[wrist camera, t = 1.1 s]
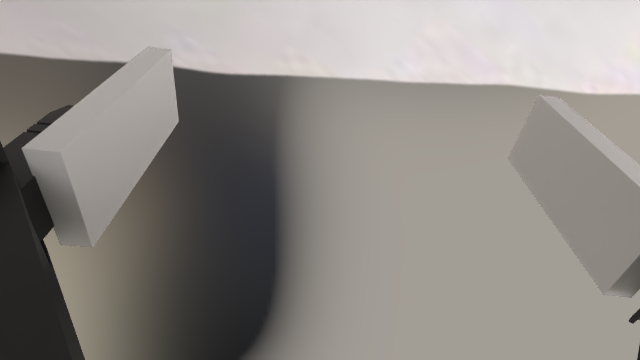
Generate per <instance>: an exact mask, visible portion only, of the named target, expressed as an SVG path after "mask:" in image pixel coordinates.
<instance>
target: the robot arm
mask: <svg viewBox="0 0 640 360" xmlns="http://www.w3.org/2000/svg"><path fill="white" fill-rule="evenodd" d="M178 122H179V119H178V110H177V101H176V92H175V84H174V74H173V65H172V56H171V49H163V48H154V47H147V48H146V49H144V50H143V51H142V52H141V53H140V54H138V55H137V56H136V57H135V58H133V59H132V60H131V61H130V62H128V63H127V64H126V65H125V66H123V67H122V68H121V69H120V70H118V71H117V72H116V73H115V74H113V75H112V76H111V77H110V78H108V79H107V80H106V81H105V82H103V83H102V84H101V85H100V86H98V87H97V88H96V89H95V90H93V91H92V92H91V93H90V94H89V95H87V96H86V97H85V98H83V99H82V100H81V101H80V102H78V103H77V104H76V105H75V106H71V105H68V106H65V107H63V108H60V109H58V110H55V111H52V112H50V113H49V114H48V115H46V116H45V117H43V118H42V119H41V120H39V121H38V122H37V124H34V125H33V126H31V127H30V128H29V129H27V132H23V133H22V134H21V135H19V136H18V137H17V138H15V139H14V140H13V141H12V142H10V143H9V144H8V145H6V146H5V147H4V148H3V147H2V144H1V142H0V360H85V358H84V355H83V352H82V349H81V346H80V344H79V341H78V338H77V335H76V332H75V329H74V326H73V323H72V320H71V317H70V314H69V311H68V309H67V306H66V303H65V300H64V297H63V294H62V291H61V288H60V285H59V282H58V279H57V277H56V274H55V271H54V268H53V265H52V262H51V259H50V256H49V253H48V251H47V248H46V245H45V243H44V241H43V239H44V237H45V236H46V235H47V234H48V233H49V231H50V230H51V229H52V228H54V230H55V232H56V235H57V237H58V240H59V243H60V244H61V245H69V246H80V247H91V248H93V247H94V245H95V244H96V242H97V241H98V239H99V238H100V236H101V235H102V233H103V232H104V230H105V229H106V228H107V226H108V224H109V223H110V222H111V220H112V219H113V217H114V216H115V214H116V213H117V211H118V210H119V208H120V207H121V205H122V204H123V203H124V201H125V200H126V198H127V197H128V195H129V194H130V192H131V191H132V189H133V188H134V186H135V185H136V183H137V182H138V180H139V179H140V177H141V176H142V175H143V173H144V172H145V170H146V168H147V167H148V166H149V164H150V163H151V161H152V160H153V158H154V157H155V155H156V154H157V153H158V151H159V150H160V148H161V147H162V145H163V143H164V142H165V141H166V139H167V138H168V136H169V135H170V133H171V132H172V130H173V129H174V127H175V126H176V124H177V123H178ZM508 160H509V161H510V163H511V164H512V165H513V167H514V168H515V169H516V171H517V172H518V174H519V175H520V177H521V178H522V180H523V181H524V182H525V184H526V185H527V186H528V188H529V190H530V191H531V192H532V194H533V195H534V197H535V198H536V199H537V201H538V202H539V204H540V205H541V207H542V208H543V209H544V211H545V212H546V213H547V215H548V217H549V218H550V219H551V221H552V222H553V224H554V225H555V226H556V228H557V229H558V231H559V232H560V233H561V235H562V236H563V238H564V239H565V241H566V242H567V243H568V245H569V246H570V248H571V249H572V251H573V252H574V253H575V255H576V256H577V258H578V259H579V261H580V262H581V263H582V264H583V266H584V267H585V269H586V270H587V272H588V273H589V275H590V276H591V278H592V279H593V280H594V282H595V283H596V285H597V286H598V287H599V289H600V290H601V292H602V293H603V295H609V296H619V297H630V298H631V297H632V296H633V295H634V294H635V293H636V292H637V291H638V290H639V289H640V165H638V164H637V163H636V162H635V161H634V160H633V159H632V158H630V157H629V156H628V155H627V154H626V153H624V152H623V151H622V150H621V149H620V148H618V147H617V146H616V145H615V144H614V143H612V142H611V141H610V140H609V139H607V137H605V136H604V135H603V134H602V133H601V132H599V131H598V130H597V129H596V128H595V127H594V126H592V125H591V124H590V123H589V122H587V121H586V120H585V119H584V118H583V117H581V116H580V115H579V114H578V113H577V112H576V111H574V110H573V109H572V108H571V107H570V106H569V105H567V104H566V103H565V102H564V101H563V100H561V99H560V98H559V97H552V96H543V95H538V97H537V99H536V101H535V103H534V105H533V107H532V109H531V111H530V113H529V116H528V118H527V120H526V122H525V124H524V126H523V128H522V130H521V132H520V134H519V136H518V138H517V140H516V142H515V144H514V146H513V149H512V150H511V152H510V154H509V157H508ZM637 320H640V309H639V310H638V311H637V312H636V313H635V314H634V315H633V316H632V317H631V318H630V320H629V322H631V323H634V322H635V321H637ZM637 360H640V346H639V352H638V359H637Z"/></svg>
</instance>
